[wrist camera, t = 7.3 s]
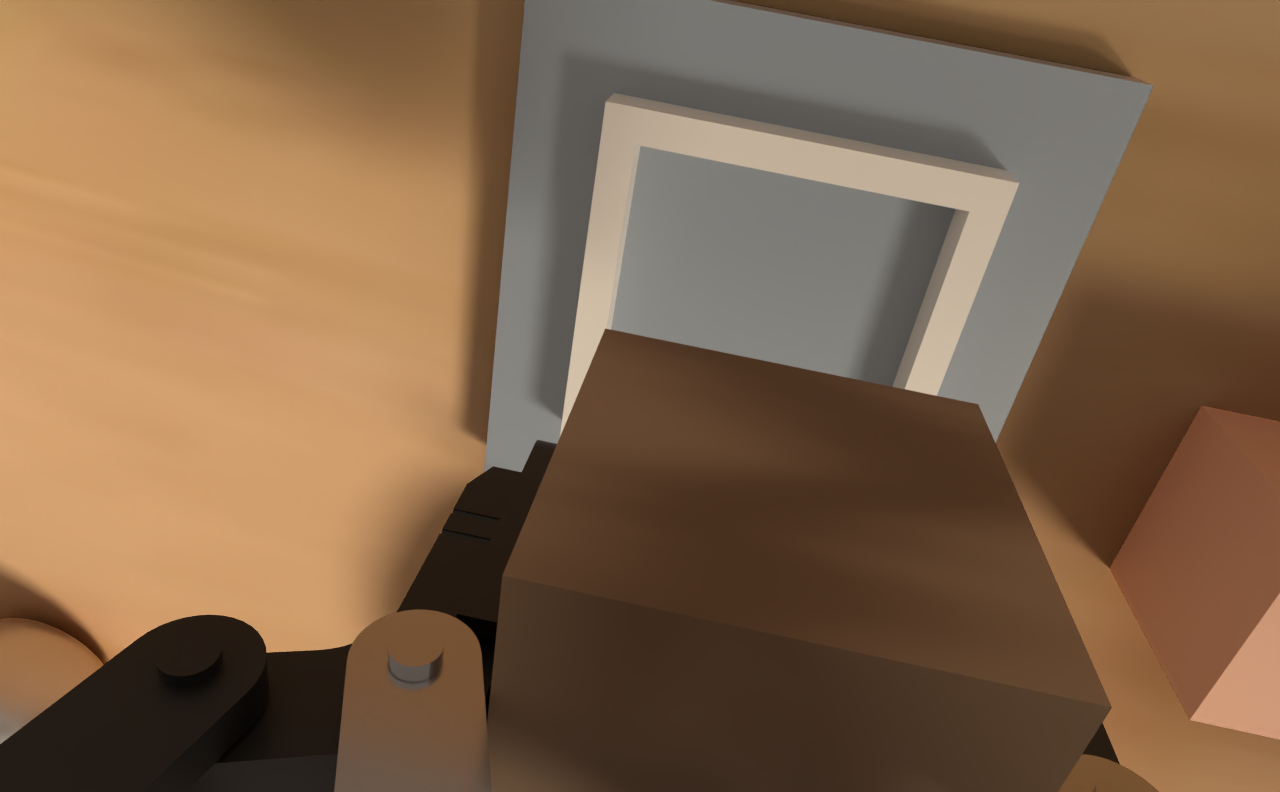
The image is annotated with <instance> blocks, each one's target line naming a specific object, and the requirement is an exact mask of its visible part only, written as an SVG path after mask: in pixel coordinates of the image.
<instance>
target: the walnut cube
mask: <svg viewBox="0 0 1280 792" xmlns="http://www.w3.org/2000/svg"><path fill="white" fill-rule="evenodd" d="M1111 708H1112V707H1111V704H1110V702H1109V700H1108V698H1107V695H1106V693H1105V691H1104V689H1103V686H1102V684H1101V682H1100V679H1099V677H1098V675H1097V673H1096V670H1095V668H1094V666H1093V664H1092V661H1091V659H1090V657H1089V655H1088V652H1087V650H1086V648H1085V645H1084V643H1083V641H1082V639H1081V636H1080V634H1079V632H1078V630H1077V627H1076V625H1075V623H1074V620H1073V618H1072V616H1071V614H1070V611H1069V609H1068V607H1067V605H1066V602H1065V600H1064V598H1063V595H1062V593H1061V591H1060V589H1059V586H1058V584H1057V582H1056V580H1055V577H1054V575H1053V573H1052V571H1051V568H1050V566H1049V564H1048V561H1047V559H1046V557H1045V555H1044V552H1043V550H1042V548H1041V546H1040V543H1039V541H1038V539H1037V536H1036V534H1035V532H1034V530H1033V527H1032V525H1031V523H1030V521H1029V518H1028V516H1027V514H1026V511H1025V509H1024V507H1023V505H1022V502H1021V500H1020V498H1019V496H1018V493H1017V491H1016V489H1015V487H1014V484H1013V482H1012V480H1011V477H1010V475H1009V473H1008V471H1007V468H1006V466H1005V464H1004V462H1003V459H1002V457H1001V455H1000V452H999V450H998V448H997V446H996V443H995V441H994V439H993V437H992V434H991V432H990V430H989V427H988V425H987V423H986V421H985V418H984V416H983V414H982V412H981V409H980V407H979V405H978V404H975V403H970V402H965V401H960V400H955V399H950V398H945V397H940V396H935V395H930V394H925V393H921V392H916V391H911V390H906V389H901V388H896V387H891V386H886V385H881V384H876V383H871V382H866V381H862V380H857V379H852V378H847V377H842V376H837V375H832V374H827V373H822V372H817V371H812V370H807V369H803V368H798V367H793V366H788V365H783V364H778V363H773V362H768V361H763V360H758V359H753V358H748V357H744V356H739V355H734V354H729V353H724V352H719V351H714V350H709V349H704V348H699V347H694V346H689V345H685V344H680V343H675V342H670V341H665V340H660V339H655V338H650V337H645V336H640V335H635V334H631V333H626V332H621V331H616V330H611V329H606V328H605V330H604V333H603V335H602V338H601V340H600V342H599V345H598V347H597V350H596V352H595V354H594V357H593V359H592V362H591V364H590V366H589V369H588V371H587V374H586V376H585V378H584V381H583V383H582V386H581V388H580V390H579V393H578V395H577V398H576V400H575V402H574V405H573V407H572V410H571V412H570V414H569V417H568V419H567V422H566V424H565V426H564V429H563V431H562V434H561V436H560V438H559V441H558V443H557V446H556V448H555V450H554V453H553V455H552V458H551V460H550V462H549V465H548V467H547V470H546V472H545V474H544V477H543V479H542V482H541V484H540V486H539V489H538V491H537V494H536V496H535V498H534V501H533V503H532V506H531V508H530V510H529V513H528V515H527V518H526V520H525V522H524V525H523V527H522V530H521V532H520V534H519V537H518V539H517V542H516V544H515V546H514V549H513V551H512V554H511V556H510V558H509V561H508V563H507V566H506V568H505V570H504V573H503V575H502V584H501V594H500V603H499V613H498V623H497V633H496V643H495V652H494V662H493V672H492V682H491V691H490V701H489V711H488V721H487V734H488V747H489V761H490V775H491V788H492V792H1058V791H1059V790H1060V788H1061V787H1062V785H1063V783H1064V782H1065V780H1066V779H1067V777H1068V775H1069V774H1070V772H1071V771H1072V769H1073V768H1074V766H1075V764H1076V763H1077V761H1078V760H1079V758H1080V757H1081V755H1082V753H1083V752H1084V750H1085V749H1086V747H1087V746H1088V744H1089V742H1090V741H1091V739H1092V738H1093V736H1094V735H1095V733H1096V731H1097V730H1098V728H1099V727H1100V725H1101V724H1102V722H1103V720H1104V719H1105V717H1106V716H1107V714H1108V713H1109V711H1110V709H1111Z"/></svg>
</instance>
